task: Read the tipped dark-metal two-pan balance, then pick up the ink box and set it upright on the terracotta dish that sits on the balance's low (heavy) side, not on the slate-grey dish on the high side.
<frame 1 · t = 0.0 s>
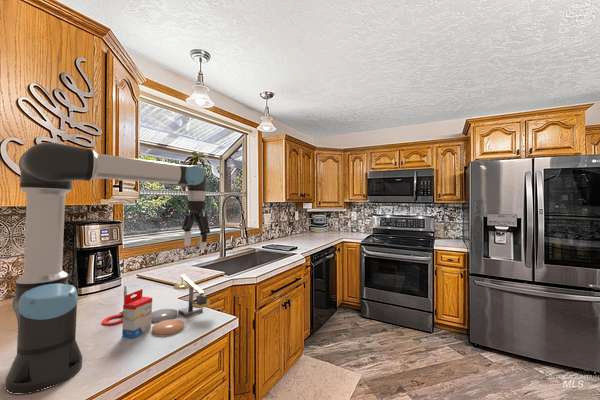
hand: (194, 247, 119), 28 cm above the countertop, fingers open, 13 cm apart
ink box: (137, 333, 96), on the countertop
dish low: (168, 328, 100), on the countertop
balance: (190, 312, 115), on the countertop
tow hook: (116, 321, 106), on the countertop
dish high: (162, 316, 110), on the countertop
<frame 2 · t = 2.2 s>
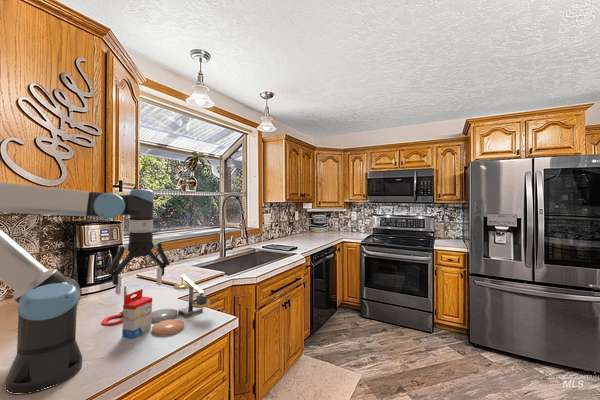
hand: (139, 288, 97), 16 cm above the countertop, fingers open, 13 cm apart
nothing on the countertop moved.
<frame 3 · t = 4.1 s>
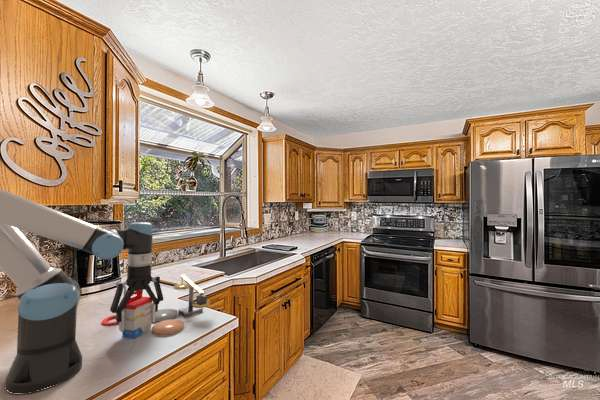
hand: (137, 325, 96), 3 cm above the countertop, fingers closed on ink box, 9 cm apart
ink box: (137, 333, 96), on the countertop, touching gripper
everything else where it was.
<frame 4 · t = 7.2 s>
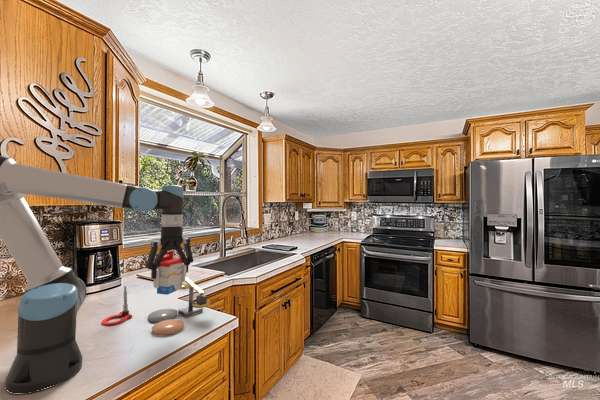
hand: (170, 284, 100), 17 cm above the countertop, fingers closed on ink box, 9 cm apart
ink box: (170, 291, 100), point 14 cm above the countertop, touching gripper
everything else where it was.
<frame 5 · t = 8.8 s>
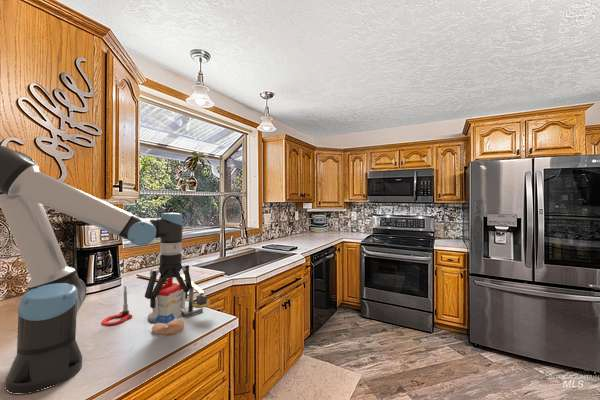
hand: (169, 311, 100), 6 cm above the countertop, fingers closed on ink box, 9 cm apart
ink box: (169, 319, 100), point 4 cm above the countertop, touching gripper
everything else where it was.
when the fingers open (5 cm above the countertop, at t = 10.1 s): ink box drops 1 cm, resting on dish low.
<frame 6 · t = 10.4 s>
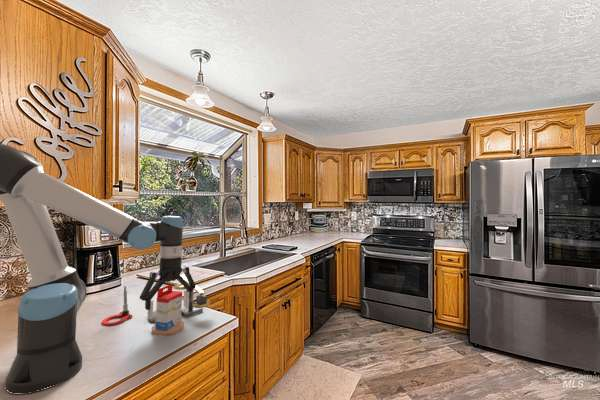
hand: (168, 312, 100), 6 cm above the countertop, fingers open, 13 cm apart
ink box: (168, 325, 100), point 1 cm above the countertop, touching dish low
everything else where it was.
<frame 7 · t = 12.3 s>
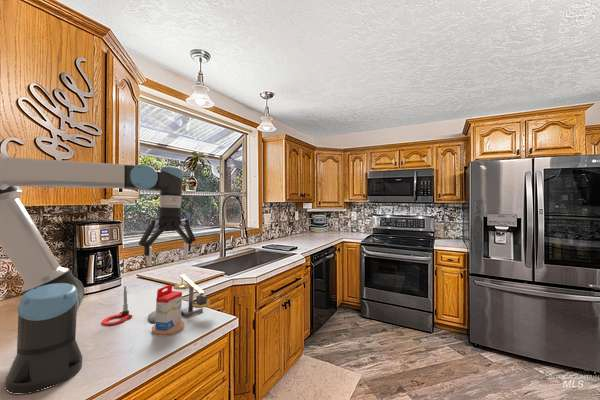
hand: (168, 262, 101), 25 cm above the countertop, fingers open, 13 cm apart
nothing on the countertop moved.
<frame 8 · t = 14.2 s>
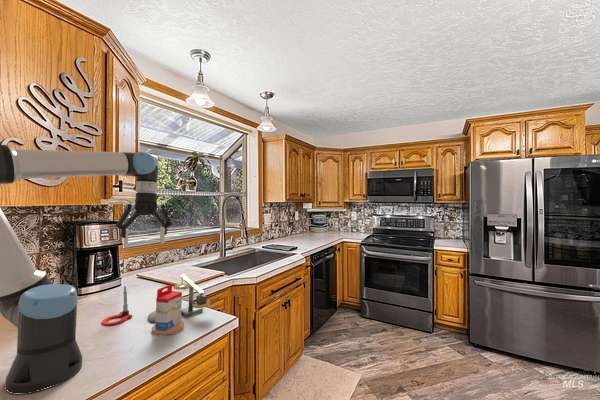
hand: (144, 244, 107), 31 cm above the countertop, fingers open, 13 cm apart
nothing on the countertop moved.
at the end: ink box 0.0 cm from the dish low (horizontally); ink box tilted 0°; the gripper is holding nothing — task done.
